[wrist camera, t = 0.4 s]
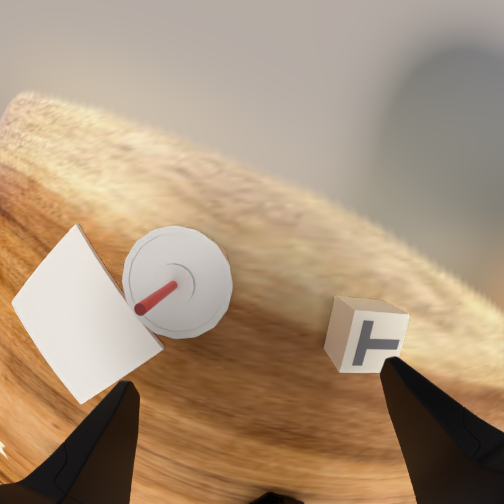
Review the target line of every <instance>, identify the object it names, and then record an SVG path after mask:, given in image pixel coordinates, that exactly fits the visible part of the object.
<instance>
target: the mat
mask: <svg viewBox="0 0 504 504" xmlns="http://www.w3.org/2000/svg"><path fill="white" fill-rule="evenodd" d="M11 304H12V306H13V307H14V309H15V311H16V313H17V315H18V317H19V318H20V320H21V322H22V323H23V325H24V327H25V329H26V330H27V332H28V333H29V335H30V337H31V338H32V340H33V341H34V343H35V345H36V346H37V348H38V349H39V351H40V352H41V354H42V355H43V356H44V358H45V359H46V361H47V362H48V364H49V365H50V366H51V368H52V369H53V370H54V372H55V373H56V374H57V376H58V377H59V378H60V380H61V381H62V382H63V384H64V385H65V386H66V387H67V389H68V390H69V391H70V392H71V393H72V395H73V396H74V397H75V398H76V399H77V401H78V402H79V403H80V404H83V403H84V402H86V401H87V400H89V399H90V398H92V397H93V396H95V395H96V394H98V393H100V392H101V391H103V390H104V389H106V388H107V387H109V386H110V385H112V384H113V383H115V382H116V381H118V380H119V379H121V378H122V377H124V376H125V375H127V374H128V373H130V372H131V371H133V370H134V369H136V368H137V367H139V366H140V365H141V364H143V363H144V362H146V361H147V360H149V359H150V358H152V357H153V356H155V355H156V354H158V353H159V352H161V351H162V350H163V349H164V348H165V346H164V345H163V344H162V343H161V342H160V340H159V339H158V338H157V337H156V336H155V334H154V333H153V332H152V331H151V330H150V329H149V328H148V327H146V326H145V325H144V324H142V323H141V322H140V321H138V319H137V318H136V316H135V315H134V313H133V312H132V310H131V308H130V307H129V305H128V304H127V302H126V298H125V295H124V293H123V292H122V291H121V289H120V288H119V286H118V285H117V283H116V282H115V281H114V279H113V278H112V276H111V275H110V273H109V272H108V270H107V269H106V267H105V266H104V264H103V263H102V261H101V259H100V258H99V256H98V255H97V253H96V252H95V250H94V248H93V247H92V245H91V244H90V242H89V240H88V239H87V237H86V235H85V234H84V232H83V230H82V228H81V227H80V225H79V224H75V225H74V226H73V227H72V228H71V230H70V231H69V232H68V233H67V234H66V235H65V236H64V237H63V238H62V239H61V241H60V242H59V243H58V244H57V245H56V246H55V247H54V249H53V250H52V251H51V252H50V253H49V254H48V256H47V257H46V258H45V259H44V260H43V262H42V263H41V264H40V265H39V266H38V268H37V269H36V270H35V272H34V273H33V274H32V275H31V277H30V278H29V279H28V281H27V282H26V283H25V284H24V286H23V287H22V289H21V290H20V291H19V293H18V294H17V295H16V297H15V298H14V300H13V301H12V302H11Z"/></svg>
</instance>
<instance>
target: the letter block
mask: <svg viewBox="0 0 504 504" xmlns="http://www.w3.org/2000/svg"><path fill="white" fill-rule="evenodd" d="M409 318H410V314H409V313H407V312H405V311H403V310H401V309H399V308H397V307H395V306H393V305H391V304H390V303H388V302H386V301H384V300H374V299H364V298H355V297H345V296H336V295H335V297H334V302H333V307H332V312H331V317H330V322H329V326H328V331H327V335H326V340H325V344H324V350H325V351H326V353H327V354H328V356H329V358H330V359H331V361H332V362H333V364H334V365H335V367H336V368H337V370H338V372H339V373H380V372H381V369H382V366H383V364H384V361H385V359H386V358H389V357H393V356H397V357H399V355H400V351H401V348H402V345H403V341H404V338H405V334H406V330H407V326H408V322H409Z"/></svg>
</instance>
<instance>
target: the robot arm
mask: <svg viewBox="0 0 504 504" xmlns="http://www.w3.org/2000/svg"><path fill="white" fill-rule="evenodd" d="M380 378H381V382H382V386H383V391H384V395H385V399H386V403H387V407H388V411H389V414H390V418H391V420H392V423H393V426H394V429H395V432H396V435H397V438H398V441H399V444H400V447H401V450H402V453H403V456H404V459H405V462H406V466H407V469H408V472H409V476H410V479H411V483H412V486H413V490H414V493H415V496H416V501H417V504H504V432H502V431H501V430H499V429H497V428H495V427H494V426H492V425H490V424H488V423H487V422H485V421H484V420H482V419H480V418H479V417H477V416H476V415H475V414H473V413H472V412H470V411H469V410H468V409H466V408H465V407H463V406H462V405H461V404H460V403H458V402H457V401H456V400H454V399H453V398H452V397H450V396H449V395H448V394H446V393H445V392H444V391H442V390H441V389H440V388H438V387H437V386H436V385H434V384H433V383H432V382H430V381H429V380H428V379H426V378H425V377H424V376H422V375H421V374H420V373H418V372H417V371H416V370H415V369H413V368H412V367H411V366H409V365H408V364H407V363H405V362H404V361H403V360H401V359H400V358H399V357H397V356H393V357H389V358H386V359H385V361H384V364H383V366H382V369H381V372H380ZM139 407H140V395H139V393H138V391H137V389H136V388H135V386H134V384H133V383H132V382H131V381H128V380H121V381H119V382H118V383H117V384H116V385H115V386H114V388H113V389H112V390H111V391H110V392H109V393H108V394H107V395H106V396H105V397H104V398H103V399H102V401H101V402H100V403H99V404H98V405H97V406H96V407H95V408H94V409H93V410H92V411H91V413H90V414H89V415H88V416H87V417H86V418H85V419H84V420H83V421H82V422H81V423H80V425H79V426H78V427H77V428H76V429H75V430H74V431H73V432H72V433H71V434H70V435H69V437H68V438H67V439H66V440H65V442H63V443H62V444H61V445H60V446H59V447H58V449H57V450H56V451H55V452H54V453H53V454H52V455H51V456H50V457H49V458H48V459H46V460H45V461H44V462H43V463H42V464H41V465H40V466H39V467H37V468H36V469H35V470H34V471H33V472H32V473H30V474H29V475H28V476H27V477H26V478H24V479H23V480H21V481H19V482H16V483H10V484H2V485H0V504H129V503H130V492H131V483H132V475H133V467H134V459H135V452H136V445H137V439H138V427H139ZM250 504H304V503H303V502H299V501H296V500H293V499H289V498H286V497H283V496H280V495H277V494H274V493H267V494H265V495H264V496H262V497H260V498H259V499H257V500H255V501H254V502H252V503H250Z"/></svg>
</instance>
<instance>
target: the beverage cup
mask: <svg viewBox="0 0 504 504" xmlns="http://www.w3.org/2000/svg"><path fill="white" fill-rule="evenodd" d="M122 283H123V288H124V293H125V298H126V302H127V304H128V305H129V307H130V308H131V310H132V312H133V313H134V315H135V316H136V318H137V319H138V321H140V322H141V323H142V324H144V325H145V326H146V327H148V328H149V329H150V330H151V331H153V332H154V333H156V334H159V335H163V336H166V337H169V338H173V339H183V338H193V337H197V336H199V335H201V334H203V333H205V332H206V331H208V330H210V329H212V328H214V327H215V326H216V324H217V323H218V322H219V320H220V319H221V318H222V316H223V315H224V314H225V313H226V311H227V310H228V306H229V302H230V298H231V293H232V289H233V282H232V276H231V270H230V263H229V262H228V257H227V254H226V253H225V251H224V250H223V248H222V246H220V245H219V244H218V243H216V242H215V241H214V240H212V239H210V238H209V237H207V236H206V235H205V234H203V233H202V232H201V231H199V230H194V229H190V228H186V227H182V226H178V225H174V226H169V227H163V228H158V229H154V230H152V231H151V232H149V233H148V234H146V235H145V236H143V237H142V238H141V239H139V240H138V241H136V243H135V245H134V246H133V248H132V249H131V251H130V253H129V254H128V256H127V258H126V259H125V265H124V271H123V277H122Z"/></svg>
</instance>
